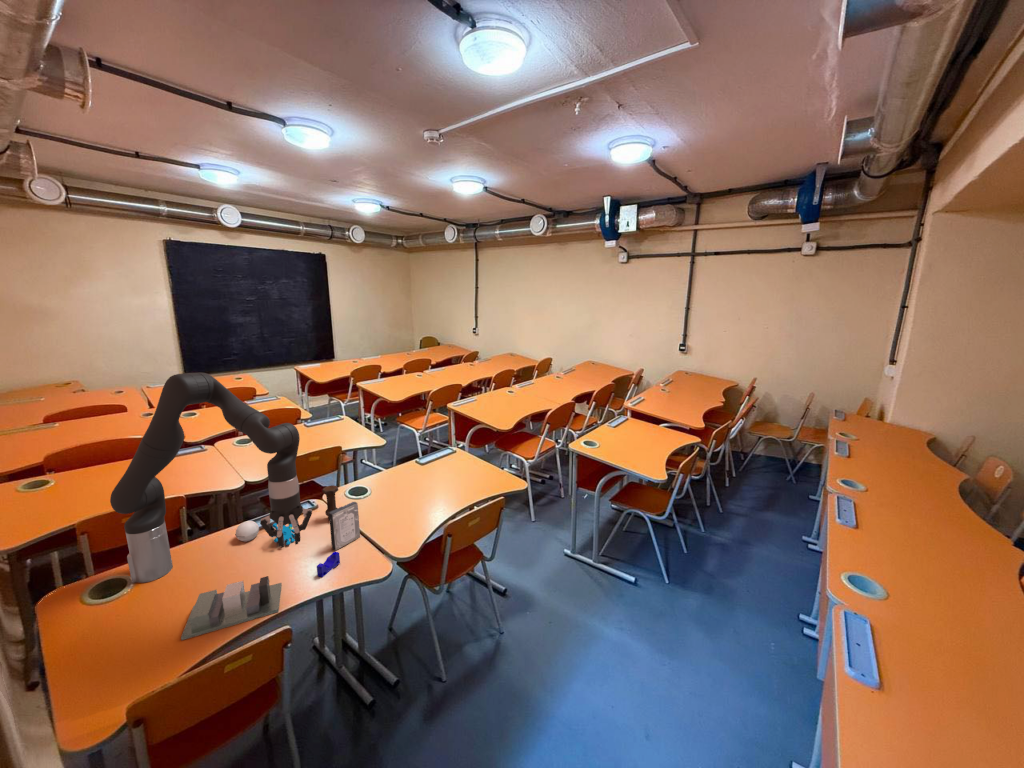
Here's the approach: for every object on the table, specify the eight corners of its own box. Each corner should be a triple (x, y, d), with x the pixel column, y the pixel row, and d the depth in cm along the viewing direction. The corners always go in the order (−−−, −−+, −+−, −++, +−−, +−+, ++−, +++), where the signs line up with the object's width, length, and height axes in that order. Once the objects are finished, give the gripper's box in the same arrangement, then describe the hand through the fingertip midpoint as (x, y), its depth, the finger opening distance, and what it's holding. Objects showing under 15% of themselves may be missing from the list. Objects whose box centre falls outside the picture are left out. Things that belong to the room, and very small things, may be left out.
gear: (287, 548, 137) (266, 530, 135) (276, 558, 138) (256, 539, 136) (304, 530, 148) (285, 513, 146) (294, 539, 148) (275, 522, 147)
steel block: (224, 617, 106) (222, 598, 105) (229, 602, 111) (226, 584, 110) (242, 612, 108) (239, 594, 107) (245, 598, 113) (243, 580, 112)
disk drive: (335, 551, 137) (332, 514, 134) (331, 548, 139) (328, 511, 136) (360, 537, 146) (358, 502, 143) (356, 535, 147) (354, 500, 144)
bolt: (342, 521, 156) (339, 488, 153) (330, 526, 152) (327, 492, 149) (335, 516, 160) (332, 483, 157) (323, 521, 156) (320, 488, 153)
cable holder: (331, 560, 133) (331, 550, 132) (340, 562, 132) (339, 552, 131) (313, 575, 125) (312, 564, 124) (322, 578, 124) (321, 567, 123)
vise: (181, 640, 100) (178, 624, 99) (194, 608, 110) (191, 593, 109) (278, 612, 110) (276, 597, 109) (281, 585, 120) (280, 571, 119)
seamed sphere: (232, 541, 142) (230, 523, 140) (254, 531, 148) (252, 514, 147) (245, 550, 137) (243, 532, 135) (267, 540, 143) (265, 522, 141)
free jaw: (247, 615, 107) (244, 596, 106) (252, 591, 116) (250, 574, 114) (267, 609, 109) (265, 591, 108) (271, 586, 118) (269, 569, 117)
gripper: (253, 502, 104) (260, 558, 107) (311, 492, 110) (316, 545, 113) (257, 490, 110) (263, 543, 113) (311, 481, 116) (316, 532, 120)
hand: (289, 544), depth 113 cm, fingers open, 3 cm apart
